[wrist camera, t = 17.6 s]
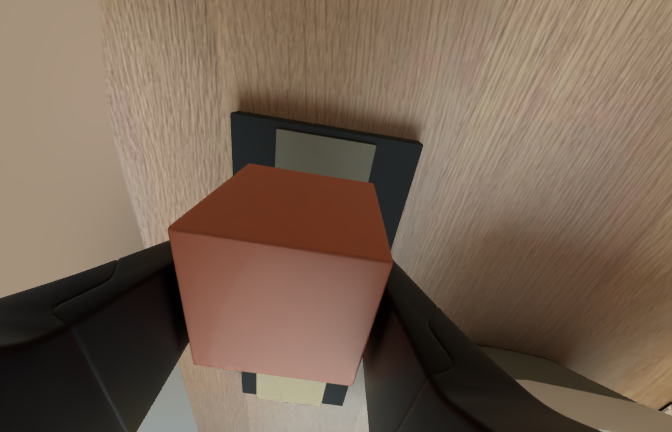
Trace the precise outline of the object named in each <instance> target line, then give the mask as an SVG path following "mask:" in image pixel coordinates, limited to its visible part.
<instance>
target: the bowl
mask: <svg viewBox="0 0 672 432" xmlns="http://www.w3.org/2000/svg"><path fill="white" fill-rule="evenodd" d="M478 347H479V348H480V349H482V350H483V351H484V352H485V353H486V354H487V355H488V356H489V357H490V358H492V359H493V360H494V361H495V362H496V363H497V364H498V365H499V366H500V367H502V368H503V369H504V370H505V371H506V372H507V373H508V374H509V375H510V376H511V377H513V378H514V379H515V380H516V381H517V382H518V383H519V384H520V385H521V386H523V387H524V388H525V389H526V390H527V391H528V392H530V393H531V394H532V395H533V396H534V397H536V398H537V399H538V400H540V401H541V402H542V403H544V404H545V405H547V406H549V407H550V408H552V409H553V410H555V411H557V412H559V413H561V414H562V415H564V416H566V417H569V418H571V419H573V420H575V421H578V422H580V423H583V424H585V425H587V426H590V427H592V428H595V429H597V430H600V431H602V432H672V416H671V415H669V414H666V413H664V412H661V411H659V410H656V409H654V408H651V407H649V406H646V405H644V404H640V403H637V402H635V401H633V400H631V399H629V398H627V397H625V396H623V395H621V394H619V393H617V392H615V391H613V390H611V389H608V388H606V387H604V386H602V385H600V384H598V383H596V382H594V381H592V380H590V379H588V378H586V377H584V376H582V375H580V374H578V373H576V372H574V371H572V370H570V369H567V368H565V367H563V366H561V365H559V364H557V363H555V362H553V361H551V360H548V359H544V358H540V357H535V356H531V355H526V354H522V353H518V352H513V351H508V350H503V349H498V348H494V347H488V346H478Z"/></svg>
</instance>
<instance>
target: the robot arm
mask: <svg viewBox="0 0 672 432" xmlns="http://www.w3.org/2000/svg"><path fill="white" fill-rule="evenodd" d="M188 343H189V337H188V332H187V327H186V322H185V317H184V312H183V306H182V301H181V296H180V291H179V286H178V280H177V275H176V270H175V265H174V260H173V255H172V249H171V244H170V240H169V241H166V242H163V243H161V244H158V245H155V246H152V247H150V248H147V249H144V250H142V251H139V252H136V253H133V254H131V255H128V256H125V257H123V258H120V259H119V260H118V261H117V260H114V261H111V262H109V263H106V264H104V265H101V266H98V267H95V268H92V269H89V270H86V271H84V272H81V273H78V274H75V275H72V276H69V277H66V278H63V279H60V280H57V281H54V282H50V283H47V284H44V285H41V286H38V287H35V288H31V289H28V290H25V291H22V292H19V293H16V294H12V295H9V296H6V297H3V298H0V432H137V430H138V428H139V426H140V425H141V423H142V421H143V420H144V418H145V416H146V415H147V413H148V411H149V410H150V408H151V406H152V404H153V403H154V401H155V399H156V397H157V396H158V394H159V392H160V391H161V389H162V387H163V385H164V384H165V382H166V380H167V379H168V377H169V375H170V374H171V372H172V370H173V369H174V367H175V365H176V363H177V362H178V360H179V358H180V357H181V355H182V353H183V351H184V350H185V348H186V346H187V345H188ZM362 357H363V368H364V378H365V389H366V400H367V411H368V422H369V432H602V431H600V430H597V429H595V428H592V427H590V426H587V425H585V424H583V423H580V422H578V421H575V420H573V419H571V418H569V417H566V416H564V415H562V414H561V413H559V412H557V411H555V410H553V409H552V408H550V407H549V406H547V405H545V404H544V403H542V402H541V401H540V400H538V399H537V398H536V397H534V396H533V395H532V394H531V393H530V392H528V391H527V390H526V389H525V388H524V387H523V386H521V385H520V384H519V383H518V382H517V381H516V380H515V379H514V378H513V377H511V376H510V375H509V374H508V373H507V372H506V371H505V370H504V369H503V368H502V367H500V366H499V365H498V364H497V363H496V362H495V361H494V360H493V359H492V358H490V357H489V356H488V355H487V354H486V353H485V352H484V351H483V350H482V349H480V348H479V347H478V346H477V345H476V344H475V343H474V342H473V341H472V340H471V339H470V338H469V337H468V336H466V335H465V334H464V333H463V332H462V331H461V330H460V329H459V328H458V327H457V326H456V325H455V324H454V323H453V322H452V321H451V320H450V319H449V318H448V317H447V316H446V315H445V314H444V313H443V312H442V311H441V309H440V308H438V307H437V306H436V304H435V303H434V302H433V301H432V300H431V299H430V298H429V297H428V296H427V295H426V294H425V293H424V292H423V291H422V290H421V289H420V288H419V287H418V286H417V284H416V283H415V282H414V281H413V280H412V279H411V278H410V277H409V276H408V275H407V274H406V273H405V272H404V271H403V270H402V269H401V268H400V267H399V266H398V265H397V263H396V262H395V261H394V260H393V265H392V268H391V271H390V274H389V277H388V280H387V283H386V286H385V289H384V292H383V295H382V298H381V301H380V305H379V308H378V311H377V314H376V317H375V320H374V323H373V326H372V329H371V332H370V335H369V338H368V341H367V344H366V347H365V350H364V353H363V356H362Z"/></svg>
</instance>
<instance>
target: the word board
mask: <svg viewBox="0 0 672 432" xmlns="http://www.w3.org/2000/svg"><path fill="white" fill-rule="evenodd" d="M231 137H232V160H233V176H234V175H235V174H236V173H237V172H239V171H240V170H241V169H242V168H244V167H245V166H246V165H248V164H256V165H262V166H268V167H275V168H281V169H287V170H293V171H299V172H306V173H312V174H318V175H324V176H330V177H337V178H343V179H349V180H355V181H361V182H367V183H373V184H374V187H375V191H376V195H377V199H378V203H379V207H380V211H381V215H382V219H383V223H384V227H385V231H386V235H387V239H388V243H389V247H390V251H391V247H392V244H393V241H394V238H395V235H396V231H397V228H398V225H399V222H400V218H401V215H402V212H403V209H404V206H405V202H406V199H407V196H408V193H409V189H410V186H411V183H412V180H413V177H414V173H415V170H416V167H417V164H418V161H419V157H420V154H421V151H422V148H423V144H421V143H420V142H419V141H415V140H409V139H403V138H397V137H391V136H385V135H379V134H373V133H367V132H361V131H355V130H349V129H343V128H337V127H331V126H325V125H319V124H313V123H307V122H301V121H295V120H290V119H284V118H278V117H272V116H266V115H260V114H254V113H248V112H242V111H236V112H232V113H231ZM242 389H243V393H250V394H256V398H260V399H268V400H275V401H282V402H290V403H297V404H305V405H312V406H319V407H320V406H321V404H322V403H324V404H332V405H339V406H342V405H343V402H344V399H345V395H346V392H347V389H348V386H347V385H339V384H332V383H325V382H317V381H310V380H303V379H295V378H288V377H281V376H273V375H266V374H259V373H251V372H244V371H242Z"/></svg>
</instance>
